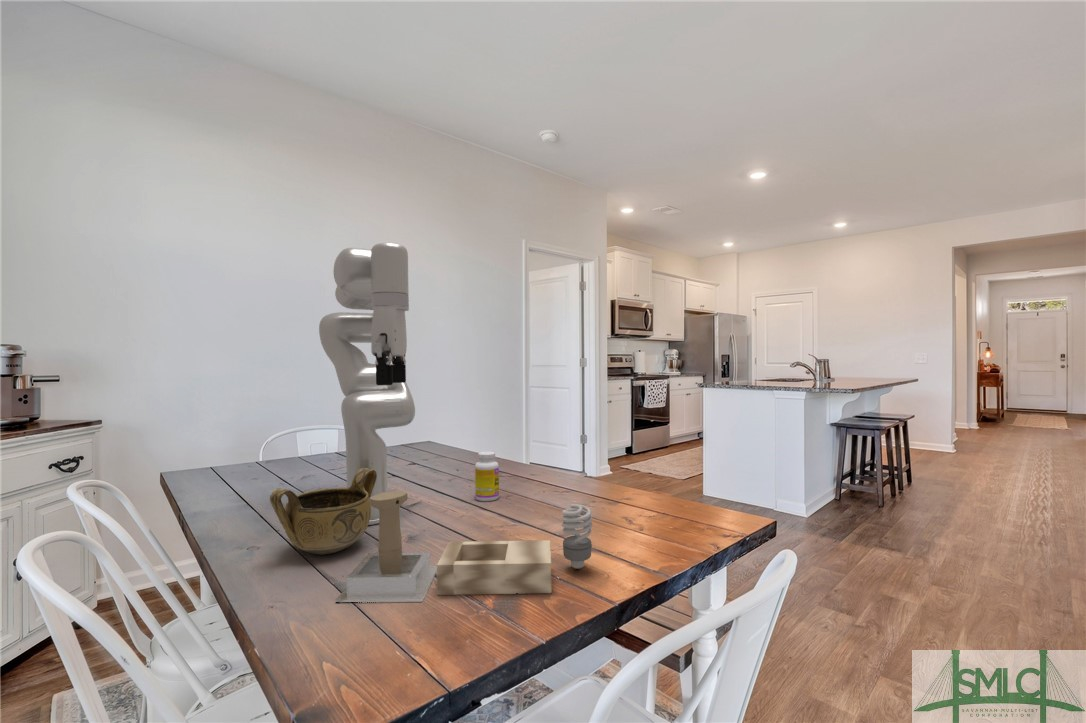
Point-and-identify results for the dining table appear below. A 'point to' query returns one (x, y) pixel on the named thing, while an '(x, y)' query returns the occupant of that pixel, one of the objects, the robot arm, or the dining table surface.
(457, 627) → the dining table surface
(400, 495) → the handle
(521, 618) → the dining table surface
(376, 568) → the tray
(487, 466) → the supplement bottle
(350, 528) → the ceramic bowl
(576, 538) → the light bulb
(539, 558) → the block
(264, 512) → the dining table surface
